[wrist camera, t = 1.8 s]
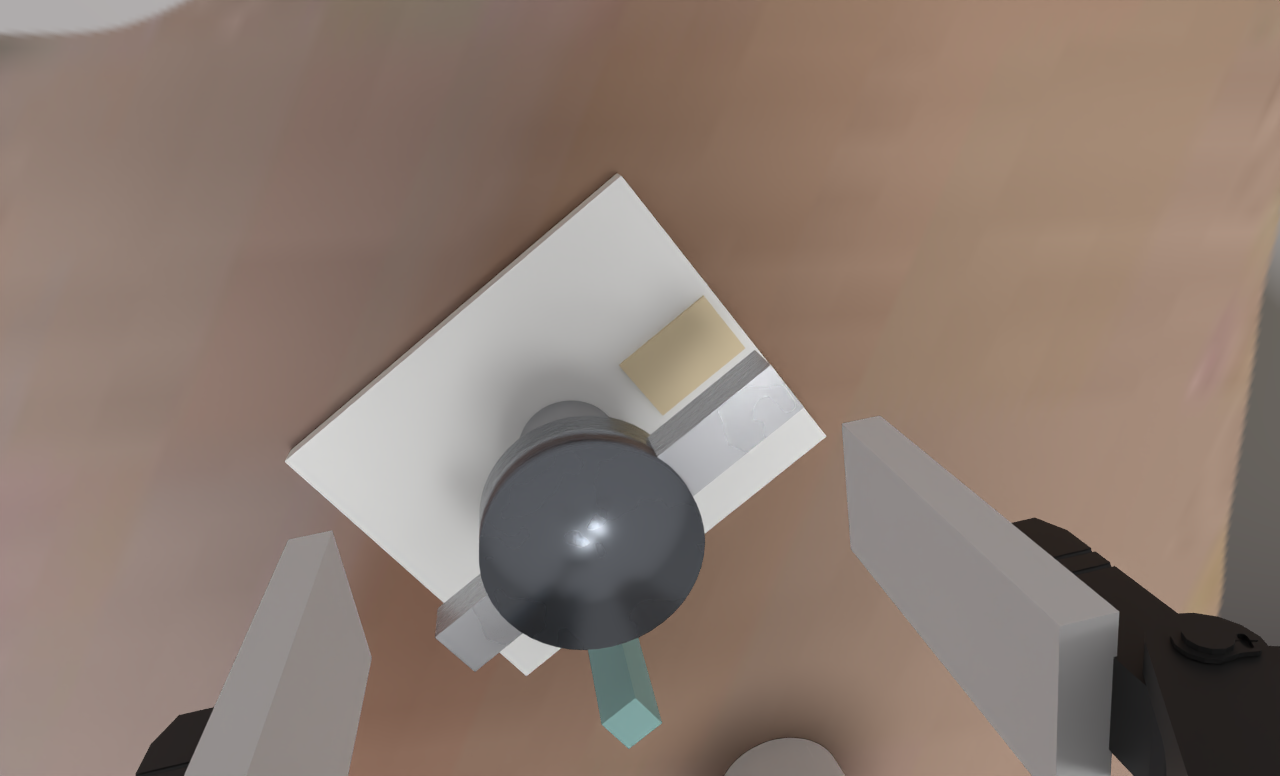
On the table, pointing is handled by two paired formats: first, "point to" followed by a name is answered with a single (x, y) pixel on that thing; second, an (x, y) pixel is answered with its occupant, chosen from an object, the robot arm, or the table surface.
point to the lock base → (541, 406)
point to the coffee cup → (786, 760)
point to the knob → (604, 520)
